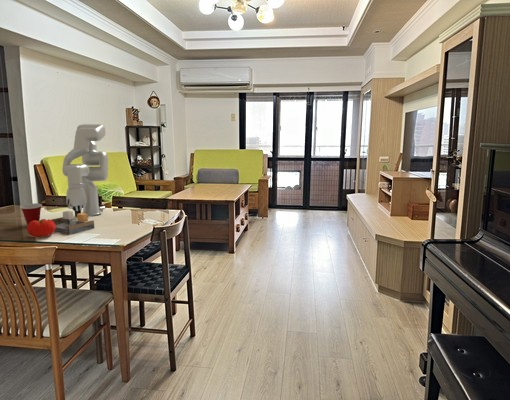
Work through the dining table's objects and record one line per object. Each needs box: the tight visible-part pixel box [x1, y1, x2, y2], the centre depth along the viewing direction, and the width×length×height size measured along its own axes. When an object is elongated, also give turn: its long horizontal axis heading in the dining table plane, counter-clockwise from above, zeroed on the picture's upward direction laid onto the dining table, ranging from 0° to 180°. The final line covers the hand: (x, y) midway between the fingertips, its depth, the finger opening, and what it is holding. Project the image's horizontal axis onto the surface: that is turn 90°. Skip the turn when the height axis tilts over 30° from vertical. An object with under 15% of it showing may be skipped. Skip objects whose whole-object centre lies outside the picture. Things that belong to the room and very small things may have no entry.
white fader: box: [62, 210, 74, 221], centre depth 201 cm, size 3×5×5 cm, turn 61°
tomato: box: [26, 218, 56, 239], centre depth 179 cm, size 14×13×9 cm
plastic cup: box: [19, 203, 43, 226], centre depth 201 cm, size 11×11×12 cm
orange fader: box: [76, 212, 89, 223], centre depth 195 cm, size 3×5×5 cm, turn 61°
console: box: [50, 216, 95, 235], centre depth 194 cm, size 15×24×4 cm, turn 61°
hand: (78, 217), depth 206 cm, fingers closed
